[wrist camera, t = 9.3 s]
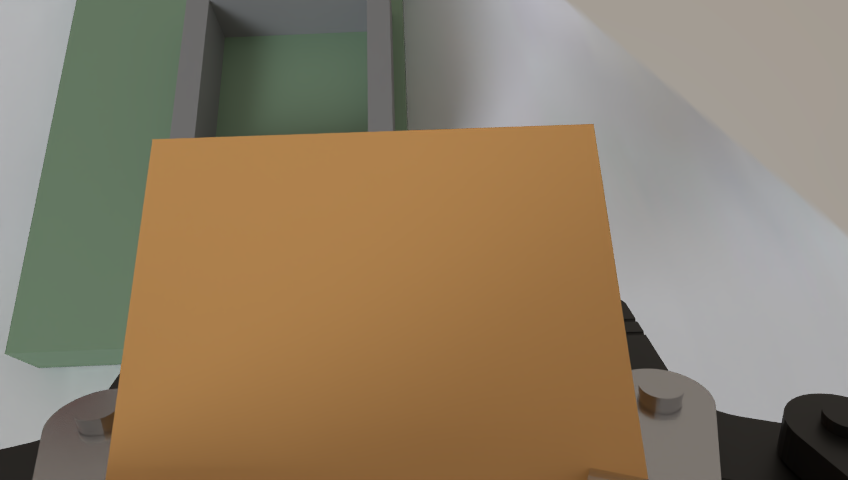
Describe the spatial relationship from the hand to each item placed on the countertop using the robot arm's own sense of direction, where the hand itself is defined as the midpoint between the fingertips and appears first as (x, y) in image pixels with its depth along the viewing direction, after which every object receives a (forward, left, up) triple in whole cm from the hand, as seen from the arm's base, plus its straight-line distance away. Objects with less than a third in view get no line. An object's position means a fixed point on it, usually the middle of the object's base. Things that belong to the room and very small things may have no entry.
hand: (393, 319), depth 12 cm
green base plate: (-16, -3, -17) cm, 24 cm away
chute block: (+2, -1, -5) cm, 5 cm away
